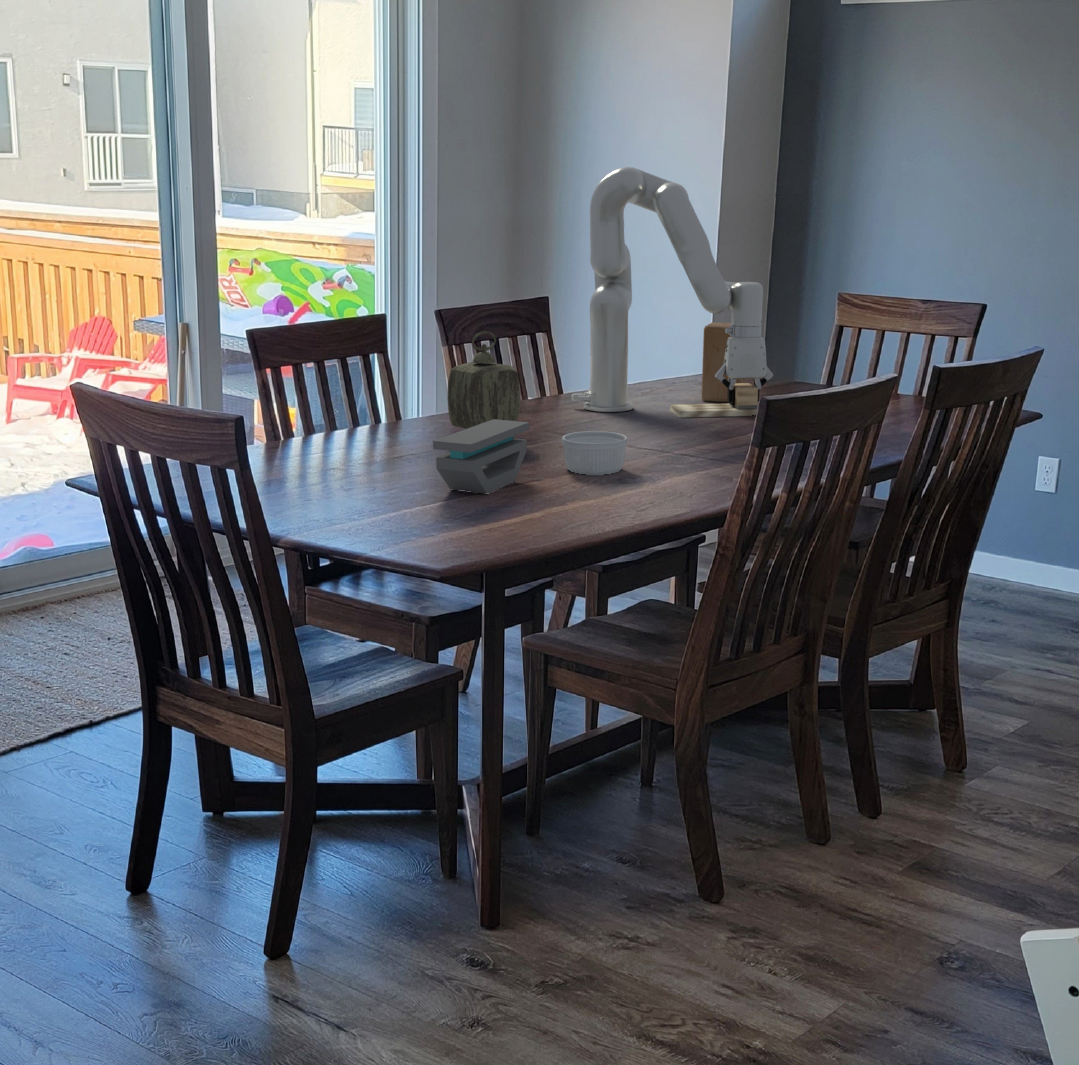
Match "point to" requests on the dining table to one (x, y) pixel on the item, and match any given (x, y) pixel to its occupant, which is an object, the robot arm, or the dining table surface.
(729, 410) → the birch plank
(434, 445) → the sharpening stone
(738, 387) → the block
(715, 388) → the wooden block
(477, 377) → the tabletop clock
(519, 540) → the dining table surface
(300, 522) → the dining table surface
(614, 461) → the ramekin
